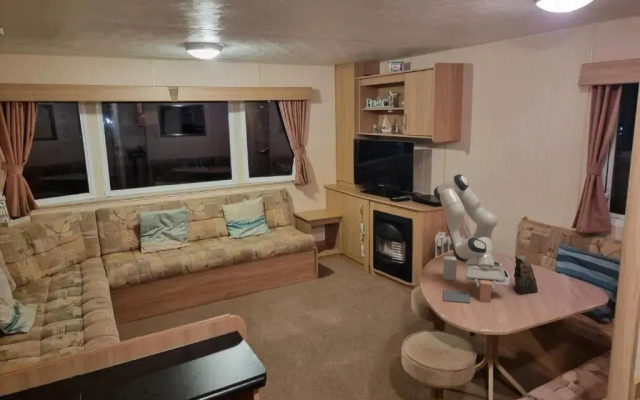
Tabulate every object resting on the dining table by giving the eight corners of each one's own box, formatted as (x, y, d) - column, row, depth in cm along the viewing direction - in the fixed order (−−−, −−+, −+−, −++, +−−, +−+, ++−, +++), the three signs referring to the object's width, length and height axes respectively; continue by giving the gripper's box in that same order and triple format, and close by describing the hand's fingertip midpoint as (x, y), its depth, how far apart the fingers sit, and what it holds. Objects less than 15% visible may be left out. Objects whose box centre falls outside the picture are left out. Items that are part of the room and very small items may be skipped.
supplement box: (456, 280, 264) (457, 260, 261) (443, 279, 265) (444, 260, 263) (455, 275, 271) (455, 256, 268) (442, 275, 273) (443, 256, 270)
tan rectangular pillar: (479, 296, 240) (480, 279, 238) (489, 297, 239) (490, 280, 237) (480, 300, 235) (480, 283, 233) (490, 301, 234) (491, 284, 232)
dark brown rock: (519, 295, 240) (522, 261, 236) (504, 286, 252) (506, 254, 248) (538, 292, 243) (541, 258, 239) (523, 284, 255) (525, 251, 251)
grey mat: (443, 290, 250) (443, 289, 249) (468, 292, 246) (468, 291, 246) (443, 301, 236) (443, 300, 236) (470, 303, 233) (470, 302, 233)
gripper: (465, 261, 244) (465, 284, 237) (505, 263, 238) (505, 287, 231) (465, 265, 249) (465, 288, 242) (503, 268, 243) (504, 291, 236)
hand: (485, 288), depth 236 cm, fingers closed on tan rectangular pillar, 5 cm apart
